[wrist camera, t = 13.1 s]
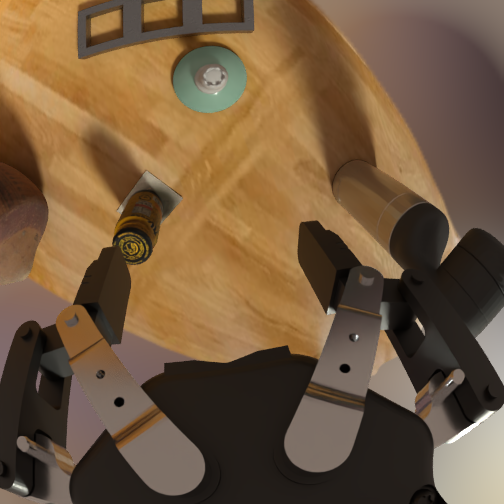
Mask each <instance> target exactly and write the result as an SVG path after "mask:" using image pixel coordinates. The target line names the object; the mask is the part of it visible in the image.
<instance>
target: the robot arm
mask: <svg viewBox="0 0 504 504" xmlns="http://www.w3.org/2000/svg"><path fill="white" fill-rule="evenodd" d="M333 194H334V197H335V199H336V200H337V202H338V203H339V204H340V205H341V206H342V207H343V208H344V209H345V210H347V211H348V213H349V214H351V215H352V216H353V217H354V218H355V219H356V220H357V221H358V222H359V223H360V224H361V225H362V226H363V227H364V228H365V229H366V230H367V231H368V232H369V233H370V234H371V235H372V236H373V238H374V239H375V240H376V241H377V242H378V243H379V244H380V245H381V246H382V247H383V248H384V249H385V250H386V251H387V252H388V253H389V254H390V255H391V257H392V258H393V259H394V260H395V261H396V262H397V263H398V264H399V265H400V266H401V267H402V268H403V269H404V270H405V271H403V273H402V275H401V278H400V279H388V278H383V275H382V274H381V273H380V272H379V271H378V270H376V269H374V268H372V267H369V266H363V265H362V264H361V263H360V262H359V260H358V259H357V258H356V257H355V255H354V254H353V253H352V252H351V250H350V249H348V247H347V245H346V244H345V243H344V242H343V241H342V239H341V238H340V237H339V236H338V235H337V234H335V233H334V232H332V231H330V230H325V229H324V228H323V226H322V225H321V224H320V223H319V222H318V221H317V220H316V221H307V222H301V223H300V226H299V239H298V260H299V263H300V266H301V267H302V269H303V271H304V273H305V275H306V277H307V279H308V280H309V282H310V284H311V286H312V288H313V290H314V292H315V294H316V295H317V297H318V299H319V301H320V303H321V305H322V307H323V309H324V311H325V313H326V315H329V314H334V313H336V314H335V317H334V320H333V323H332V326H331V329H330V332H329V335H328V337H327V340H326V343H325V345H324V348H323V351H322V353H321V356H320V359H319V360H318V359H316V358H313V357H310V356H306V355H300V354H291V353H290V351H289V348H288V345H287V346H282V347H277V348H272V349H266V350H261V351H257V352H254V353H252V354H249V355H247V356H244V357H242V358H239V359H237V360H234V361H231V362H228V363H219V362H207V361H196V360H192V361H184V362H173V363H164V373H161V374H159V375H156V376H154V377H152V378H151V379H149V380H148V381H146V382H145V383H143V384H142V385H141V386H139V385H138V383H137V382H136V381H135V380H134V378H133V377H132V376H131V374H130V373H129V372H128V371H127V369H126V368H125V367H124V365H123V364H122V363H121V361H120V360H119V359H118V357H117V356H116V354H115V353H114V352H113V350H112V349H111V344H120V343H121V339H122V332H123V327H124V321H125V315H126V309H127V304H128V299H129V294H130V289H131V277H130V273H129V270H128V268H127V265H126V262H125V259H124V256H123V253H122V250H121V248H120V246H113V247H106V248H103V249H102V251H101V253H100V256H99V258H98V260H94V261H93V263H92V264H91V265H90V266H89V267H88V268H87V270H86V273H85V275H84V278H83V280H82V282H81V283H82V284H81V285H80V287H79V290H78V293H77V295H76V298H75V300H74V303H73V305H72V306H69V307H67V308H65V309H64V310H63V311H62V312H61V313H60V314H59V315H58V317H57V320H56V324H54V325H51V326H48V327H46V328H43V329H42V328H41V327H40V326H39V324H38V323H37V322H36V321H27V322H25V323H24V324H22V325H21V326H20V327H19V328H18V330H17V331H16V333H15V336H14V339H13V342H12V345H11V347H10V350H9V354H8V357H7V360H6V364H5V367H4V371H3V375H2V378H1V382H0V488H2V489H4V490H7V491H9V492H12V493H14V494H16V495H18V496H19V497H22V498H25V499H28V500H31V501H34V502H37V503H41V504H447V503H446V502H445V501H444V499H443V498H442V497H441V495H440V494H439V493H438V491H437V489H436V487H435V484H434V478H433V452H434V449H435V448H436V447H439V446H440V445H442V444H444V443H447V444H448V443H452V442H454V441H456V440H457V439H459V438H460V437H462V436H463V435H465V434H466V433H468V432H469V431H471V430H472V429H474V428H475V427H477V426H478V425H479V424H481V423H482V422H483V421H485V420H486V419H487V418H489V417H490V416H491V415H492V414H494V413H495V412H496V411H498V410H499V409H500V408H501V407H502V405H503V404H504V385H503V383H502V381H501V380H500V378H499V376H498V374H497V373H496V371H495V369H494V368H493V366H492V364H491V363H490V361H489V360H488V358H487V356H486V354H485V353H484V351H483V350H482V348H481V347H480V345H479V344H478V342H477V341H476V339H475V338H476V337H477V336H478V335H479V334H480V333H481V332H482V331H483V330H484V329H485V327H486V326H487V325H488V324H489V323H490V322H491V321H492V319H493V318H494V317H495V316H496V315H497V314H498V312H499V311H500V310H501V309H502V308H503V307H504V245H502V243H501V242H499V241H498V240H497V239H496V238H495V237H493V236H492V235H491V234H489V233H488V232H486V231H484V230H482V229H478V228H473V229H471V230H469V231H468V232H467V233H466V235H465V236H464V237H463V238H462V239H461V240H460V242H459V243H458V244H457V246H456V247H455V248H454V249H453V250H452V252H451V253H450V254H449V255H448V256H447V258H446V259H445V260H444V261H443V262H442V264H441V265H440V262H441V258H442V255H443V252H444V250H445V247H446V244H447V241H448V237H449V223H448V220H447V218H446V216H445V215H444V214H443V213H442V212H441V211H440V210H439V209H438V208H436V207H435V206H433V205H432V204H431V203H429V202H428V201H427V200H425V199H424V198H422V197H421V196H419V195H418V194H416V193H415V192H413V191H412V190H410V189H409V188H408V187H406V186H405V185H403V184H402V183H400V182H399V181H397V180H395V179H394V178H392V177H391V176H389V175H387V174H386V173H384V172H383V171H381V170H379V169H378V168H376V167H374V166H372V165H370V164H369V163H367V162H365V161H362V160H354V161H350V162H348V163H346V164H345V165H344V166H342V167H341V169H340V170H339V171H338V172H337V174H336V176H335V178H334V182H333ZM416 318H418V319H419V321H420V322H421V324H422V325H423V327H424V330H425V336H424V335H423V333H422V331H421V329H420V328H419V326H418V325H417V323H416V322H415V320H416ZM380 330H385V332H386V334H387V336H388V338H389V340H390V341H391V343H392V345H393V347H394V349H395V351H396V353H397V355H398V356H399V358H400V360H401V362H402V364H403V366H404V368H405V370H406V372H407V374H408V376H409V378H410V380H411V382H412V384H413V386H414V388H415V390H416V393H417V396H416V399H415V407H416V410H415V413H413V412H411V411H409V410H407V409H406V408H404V407H401V406H400V405H398V404H396V403H394V402H392V401H391V400H389V399H387V398H385V397H383V396H381V395H379V394H378V393H376V392H374V391H372V390H370V389H368V385H369V381H370V377H371V373H372V369H373V364H374V359H375V355H376V350H377V345H378V339H379V334H380ZM38 371H39V372H40V373H41V374H42V375H41V380H40V385H39V391H38V393H37V390H36V379H37V374H38ZM73 374H75V376H76V378H77V380H78V382H79V384H80V386H81V388H82V389H83V391H84V393H85V395H86V396H87V398H88V400H89V402H90V403H91V405H92V407H93V408H94V410H95V412H96V413H97V415H98V416H99V418H100V420H101V421H102V423H103V424H104V426H105V427H106V429H105V430H104V431H103V433H102V434H101V435H100V436H99V438H98V439H97V440H96V441H95V443H94V444H93V445H92V446H91V448H90V449H89V450H88V451H87V453H86V454H85V455H84V456H83V458H82V459H81V460H80V461H79V463H78V464H77V465H76V466H75V464H74V463H73V460H72V457H71V455H70V454H69V452H68V451H67V450H66V436H67V417H68V405H69V395H70V387H71V380H72V375H73Z"/></svg>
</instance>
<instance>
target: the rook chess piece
mask: <svg viewBox="0 0 504 504" xmlns="http://www.w3.org/2000/svg"><path fill="white" fill-rule="evenodd" d="M194 81H195V85H196V87H197V89H198V90H200V91H201V92H203V93H206V94H215V93H217V92H219V91H221V90H222V89H223V88H224V87H225V86H226V83H227V81H228V72H227V70H226V69H225V68H224V67H223V66H221V65H219V64H207V65H205V66H203V67H201V68H200V69H199V70H198V71H197V72H196V74H195V77H194Z"/></svg>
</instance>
